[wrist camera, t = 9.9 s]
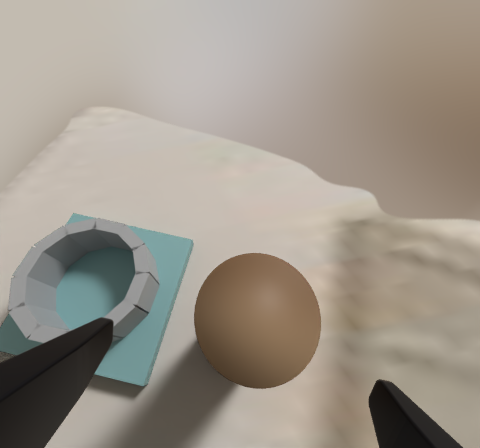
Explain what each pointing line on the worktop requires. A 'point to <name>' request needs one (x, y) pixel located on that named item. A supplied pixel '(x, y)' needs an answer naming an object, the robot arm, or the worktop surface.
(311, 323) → the walnut peg
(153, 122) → the worktop surface
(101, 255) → the ring stand
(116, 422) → the worktop surface
